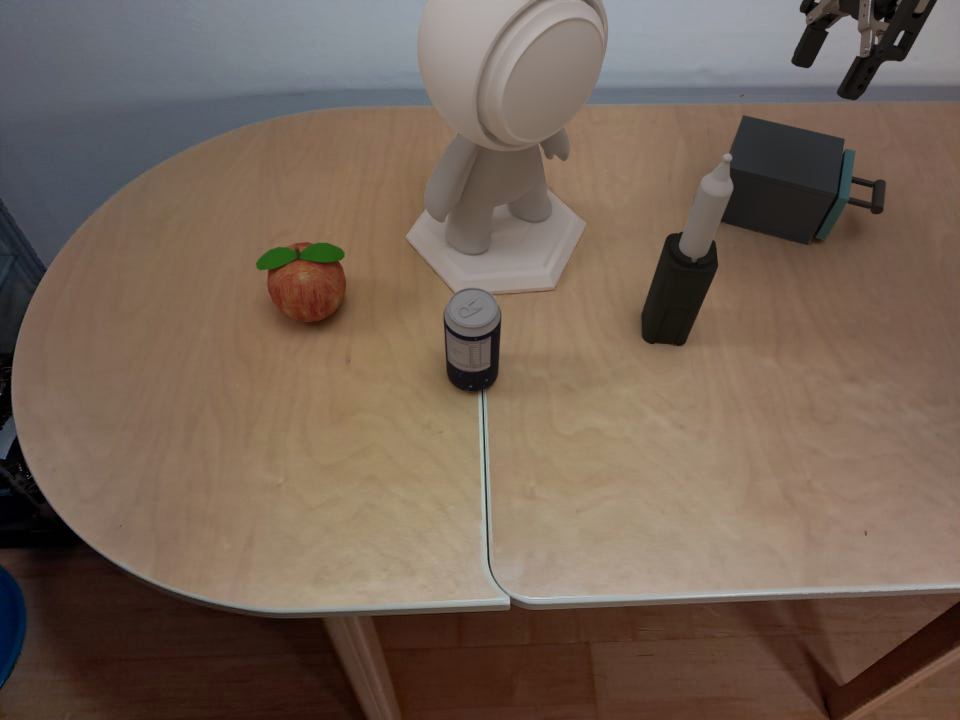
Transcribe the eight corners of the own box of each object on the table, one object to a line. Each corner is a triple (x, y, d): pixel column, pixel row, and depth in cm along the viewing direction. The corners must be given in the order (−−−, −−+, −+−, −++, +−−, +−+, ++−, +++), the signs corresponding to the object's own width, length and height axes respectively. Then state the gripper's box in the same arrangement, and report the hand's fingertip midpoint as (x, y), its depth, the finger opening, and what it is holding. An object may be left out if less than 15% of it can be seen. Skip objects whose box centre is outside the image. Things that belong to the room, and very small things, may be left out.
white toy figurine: (486, 329, 81) (493, 47, 52) (382, 213, 91) (339, -76, 62) (615, 254, 87) (686, -33, 58) (505, 154, 98) (518, -132, 69)
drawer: (869, 201, 92) (895, 160, 86) (864, 250, 87) (891, 210, 81) (745, 170, 95) (762, 128, 89) (733, 216, 90) (750, 175, 84)
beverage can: (508, 380, 77) (513, 312, 67) (465, 405, 75) (464, 339, 65) (479, 345, 80) (480, 275, 70) (437, 368, 78) (431, 300, 68)
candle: (684, 311, 82) (755, 137, 62) (687, 346, 80) (762, 176, 59) (640, 308, 83) (696, 133, 62) (642, 343, 80) (701, 172, 59)
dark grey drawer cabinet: (816, 191, 94) (845, 138, 87) (807, 244, 89) (836, 193, 81) (723, 167, 97) (743, 114, 90) (708, 218, 91) (728, 166, 84)
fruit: (350, 335, 80) (336, 278, 72) (267, 336, 80) (242, 279, 72) (356, 278, 85) (343, 218, 77) (277, 278, 85) (256, 218, 77)
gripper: (1015, -80, 56) (894, 116, 66) (904, -111, 66) (814, 62, 76) (943, -101, 54) (830, 104, 64) (840, -131, 64) (756, 50, 74)
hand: (821, 81), depth 70 cm, fingers open, 8 cm apart
